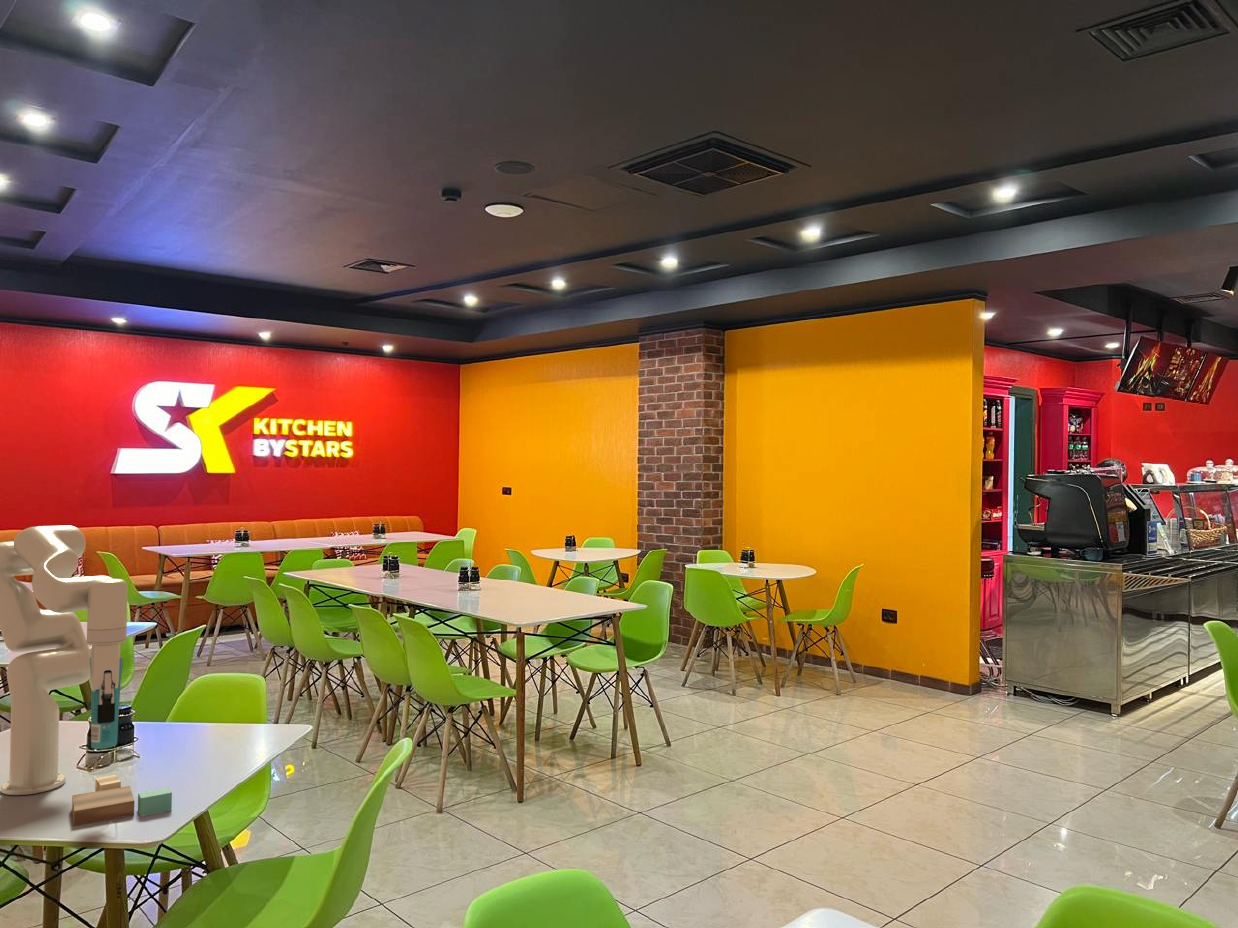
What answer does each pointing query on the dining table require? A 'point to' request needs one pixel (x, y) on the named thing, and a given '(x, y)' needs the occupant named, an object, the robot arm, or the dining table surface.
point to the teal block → (154, 801)
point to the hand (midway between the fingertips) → (105, 718)
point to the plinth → (102, 805)
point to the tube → (105, 732)
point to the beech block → (107, 783)
